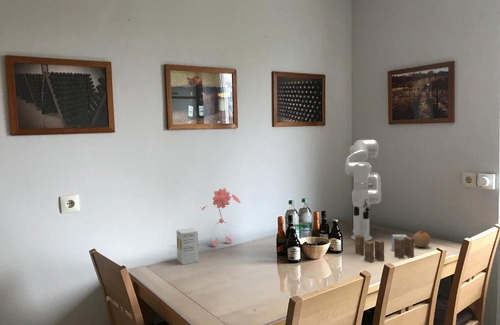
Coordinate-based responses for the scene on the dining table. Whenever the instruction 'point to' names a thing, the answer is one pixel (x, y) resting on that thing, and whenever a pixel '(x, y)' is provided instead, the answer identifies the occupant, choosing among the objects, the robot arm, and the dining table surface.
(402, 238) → the medicine box
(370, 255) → the domino
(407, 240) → the domino
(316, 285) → the dining table surface
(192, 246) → the supplement box
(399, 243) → the domino
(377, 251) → the domino
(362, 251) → the domino
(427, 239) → the onion
